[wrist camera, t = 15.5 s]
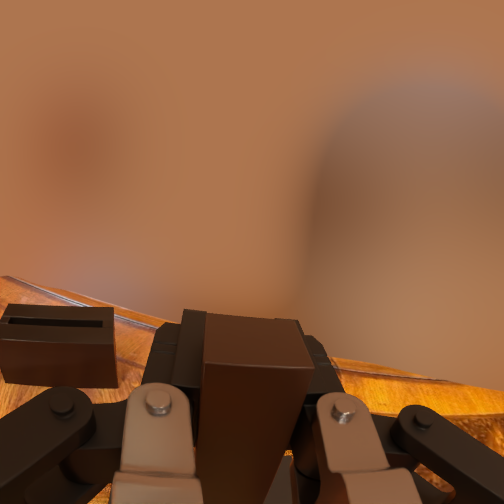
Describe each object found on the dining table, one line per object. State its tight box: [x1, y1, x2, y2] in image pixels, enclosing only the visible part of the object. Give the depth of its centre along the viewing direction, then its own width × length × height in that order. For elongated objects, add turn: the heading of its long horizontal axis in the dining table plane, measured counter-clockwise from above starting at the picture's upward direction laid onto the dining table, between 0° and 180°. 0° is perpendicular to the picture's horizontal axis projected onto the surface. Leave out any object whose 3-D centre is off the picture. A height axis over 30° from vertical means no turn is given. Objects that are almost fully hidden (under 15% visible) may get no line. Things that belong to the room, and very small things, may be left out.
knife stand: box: [0, 304, 118, 388], centre depth 24 cm, size 6×11×5 cm, turn 112°
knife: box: [194, 313, 315, 504], centre depth 9 cm, size 2×8×15 cm, turn 96°
